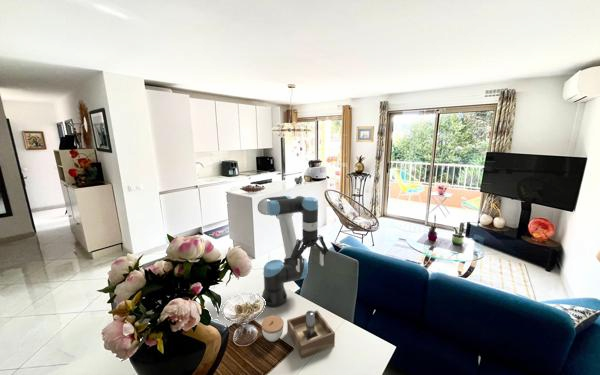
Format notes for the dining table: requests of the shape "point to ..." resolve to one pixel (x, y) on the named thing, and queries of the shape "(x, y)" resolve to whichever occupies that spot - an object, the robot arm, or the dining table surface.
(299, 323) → the box
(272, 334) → the lidded jar
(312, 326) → the peg
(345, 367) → the dining table surface
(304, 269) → the robot arm
